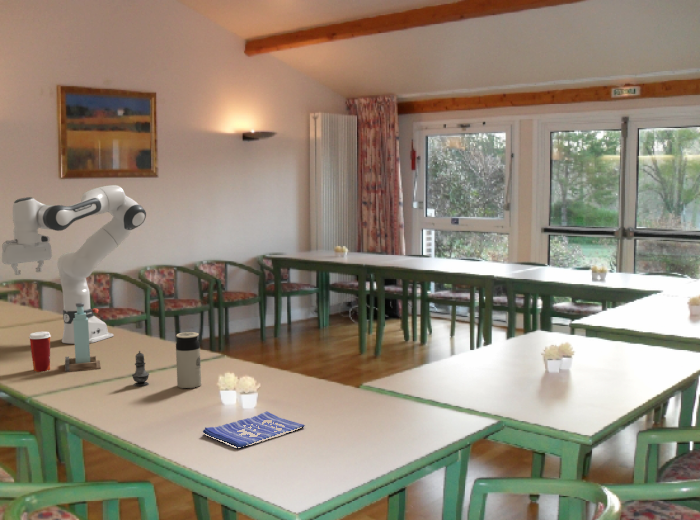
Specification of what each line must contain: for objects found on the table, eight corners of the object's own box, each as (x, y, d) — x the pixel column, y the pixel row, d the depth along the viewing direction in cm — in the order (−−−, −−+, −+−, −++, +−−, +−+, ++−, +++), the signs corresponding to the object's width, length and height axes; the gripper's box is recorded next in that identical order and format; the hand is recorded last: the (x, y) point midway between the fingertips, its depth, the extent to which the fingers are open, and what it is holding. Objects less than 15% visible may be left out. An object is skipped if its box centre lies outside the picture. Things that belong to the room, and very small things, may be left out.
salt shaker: (134, 387, 255) (132, 353, 254) (130, 383, 261) (129, 349, 259) (151, 385, 258) (150, 351, 257) (147, 381, 263) (146, 347, 262)
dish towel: (200, 437, 207) (199, 427, 207) (267, 417, 224) (267, 408, 223) (237, 452, 195) (237, 442, 195) (305, 430, 212) (305, 420, 211)
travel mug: (172, 387, 255) (170, 335, 253) (186, 381, 262) (184, 331, 260) (192, 390, 252) (190, 337, 250) (205, 383, 259) (203, 332, 257)
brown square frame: (99, 361, 294) (99, 353, 293) (100, 368, 282) (100, 360, 282) (65, 364, 289) (65, 356, 289) (65, 372, 278) (65, 364, 277)
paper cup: (57, 368, 283) (55, 332, 281) (41, 373, 276) (39, 336, 274) (42, 366, 286) (40, 330, 285) (25, 371, 279) (23, 334, 278)
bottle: (90, 363, 289) (86, 301, 286) (90, 366, 284) (87, 303, 281) (75, 364, 287) (72, 302, 284) (75, 367, 282) (72, 304, 280)
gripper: (7, 241, 286) (9, 277, 287) (53, 237, 303) (55, 271, 304) (-3, 240, 289) (-1, 276, 290) (43, 236, 306) (45, 270, 308)
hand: (28, 273), depth 298 cm, fingers open, 8 cm apart
